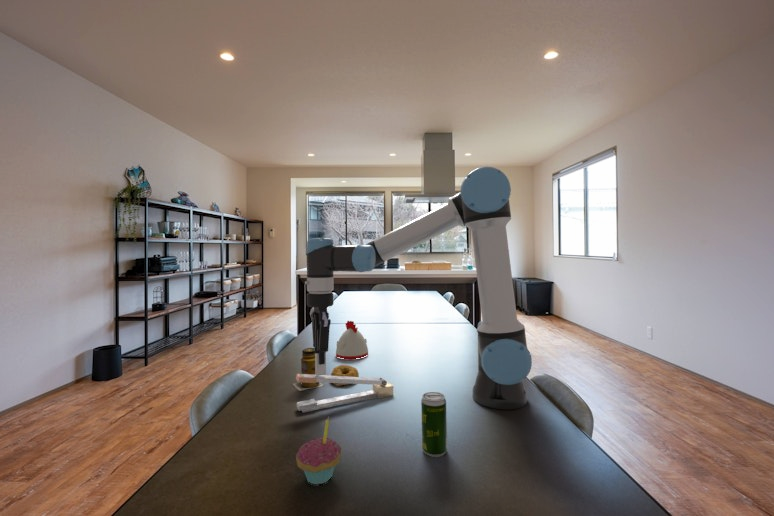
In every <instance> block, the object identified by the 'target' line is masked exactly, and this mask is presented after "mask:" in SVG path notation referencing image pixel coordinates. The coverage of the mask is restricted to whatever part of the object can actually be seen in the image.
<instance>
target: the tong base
mask: <svg viewBox="0 0 774 516" xmlns="http://www.w3.org/2000/svg"><path fill="white" fill-rule="evenodd" d="M392 396H394V385H393V384H391V383H390V381H387V385H385V386H384V385H383V384H382V385H372V390H371V389H370V390H367V391H366V390H365V391H361V392H355V393H351V394H345V395H341V396H335V397H330V398H325V399H320V400H319V399H318V400H315V398H311V399H306V400H301V401H297V402H296V408H297V410H298V412H300V411H301V412H302V413H308V412H312V411H313V412H314V411H319V410H322V409H323V410H324V409H328V408H332V407H337V406H343V405H348V404H352V403H358V402H362V401H367V400H373V399H383V398H389V397H392Z"/></svg>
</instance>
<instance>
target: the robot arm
mask: <svg viewBox="0 0 774 516" xmlns="http://www.w3.org/2000/svg"><path fill="white" fill-rule="evenodd" d="M511 188H512V187H511V183H510V181H509V178H508V176H507V175H506V174H505V173H504V172H503V171H502V170H500V169H498V168H496V167H492V166H482V167H481V166H480V167H478V168H475V169H473V170H472V171H471V172H469V173H468V174H467V175H466V176H465V177H464V179H463V181H462V183H461V185H460V191H459V192H458V193H455V195H453V196H451V197H448V198H449V199H448V201H447V203H444V204H442V205H440V206H439V207H436V208H435V209H433V210H431V211H429V212H427V213H425V214H423V215H421V216H419V217H417V218H415V219H413V220H411V221H409V222H407V223H405V224H403V225H401V226H399V227H398V228H395V229H394V230H392V231H389V232H387V233H386V234H384V235H382V236H380V237H378V238H375V239H373V240H371V241H370V242H368V243H364V244H360V243H359V244H334V240H333V239H332V238H329V237H312V238H308V240H307V243H306V253H305V255H306V280H305V281H304V284H305V285H306V291H307V294H306V305H307V307H310V308H313V312H311V314H310V318H311V329H312V330H311V331H312V348H315V351H314V353H315V375H316V376H320V375H327V353H328V352H329V341H330V328H331V322H332V321H331V319H330V318H329V317H330V313H329V312H328V307H332V306H333V305H334V293H333V292H332V291H334V290H335V287H334V285H335V284H334V282H335V281H334V280H335V279H334V272H351V273H352V272H355V273H357V272H358V273H365V272H372V271H373V270H374V269H375V268H376V267H377V266H379V265H381V264H382V263H385V262H386V261H389V260H392V258H395V257H397V256H399V255H401V254H403V253H405V252H407V251H409V250H411V249H414V248H415V247H417V246H420V245H421V244H424V243H426V242H428V241H430V240H432V239H434V238H436V237H438V236H440V235H442V234H444V233H446V232H448V231H450V230H453V229H454V228H457V227H462V228H465V227H466V228H468V229H469V230H470V232H471V238H472V245H473V253H474V262H475V270H476V279H477V287H478V295H479V303H480V311H481V319H482V320H480V321H479V322H478V324H477V329H476V333H477V363H478V365H477V367H478V368H477V370H478V372H477V374H476V378H475V382H474V385H473V387H472V399H473V400H474V401H475V402H476V403H478V404H479V405H482V406H484V407H487V408H490V409H497V410H517V409H520V408H522V407H523V408H524V406H526V405H527V403H528V401H527V400H528V399H527V392H526V390H525V388H524V384H523V381H524V380H525V379H526V378H527V377H528V375H530V373H531V371H532V370H531V369H532V363H533V362H532V361H533V360H532V355H531V351H530V350H529V349H528V344H527V336H526V329H525V327H526V326H525V325H524V324H523V323H522V322H520V321H519V319H518V316H517V315H518V314H517V309H516V308H517V306H516V300H515V289H514V284H513V283H514V282H513V275H512V273H513V272H512V266H511V259H510V258H511V257H510V250H509V241H508V234H507V232H508V231H507V224H508V223H509V222H510V221H511V220H512V213H511V206H510V196H511V191H512V190H511Z"/></svg>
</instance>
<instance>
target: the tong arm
mask: <svg viewBox="0 0 774 516" xmlns="http://www.w3.org/2000/svg"><path fill="white" fill-rule="evenodd" d="M295 380H296V381H297V383H300V382H303V383H316V382H320V383H329V384H332V383H333V384H334V383H349V384H348V385H353V384H354V385H372V386H373V385H382V384H383V385H384V386H385V385H387V382H388V381H387V380H385V379H384V378H382V377H380V378H378V377H367V376H366V377H364V376H363V377H361V376H359V377H347V376H331V375H327V374H326V375H320V376H316V375H312V374H301V373H296V377H295Z"/></svg>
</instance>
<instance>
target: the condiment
mask: <svg viewBox="0 0 774 516" xmlns="http://www.w3.org/2000/svg"><path fill="white" fill-rule="evenodd" d="M314 351H315V347H307V348H304V349H303V350H302V351H301V354H302V357H301V359H300V363H301V364H300V365H301V367H300V368H301V370H300V371H301V373H300V374H312V375H315V353H314ZM301 383H302V384H301ZM320 384H321V385H320ZM319 385H320V386H319ZM292 386H293V387H295V389H296V390H298V392H302V391H305V390H310V389H315V388H320V387H323V386H325V384H323V383H322V382H320V383H319V382H316V383H303V382H296V383H292Z"/></svg>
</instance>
